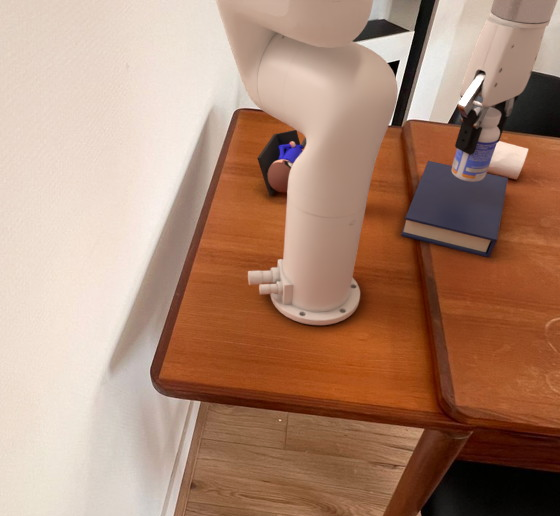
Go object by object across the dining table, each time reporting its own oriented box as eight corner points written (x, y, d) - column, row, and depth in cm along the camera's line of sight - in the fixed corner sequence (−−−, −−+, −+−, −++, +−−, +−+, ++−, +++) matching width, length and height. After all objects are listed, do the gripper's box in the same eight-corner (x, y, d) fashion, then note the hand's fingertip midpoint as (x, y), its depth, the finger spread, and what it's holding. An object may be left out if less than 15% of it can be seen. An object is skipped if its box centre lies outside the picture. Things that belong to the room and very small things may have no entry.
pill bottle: (491, 175, 84) (514, 113, 77) (472, 186, 82) (494, 123, 74) (462, 162, 87) (482, 100, 80) (443, 172, 84) (462, 110, 77)
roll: (456, 156, 104) (465, 127, 100) (518, 170, 101) (530, 142, 97) (450, 169, 100) (459, 140, 96) (515, 185, 97) (527, 156, 93)
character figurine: (313, 167, 99) (289, 208, 90) (276, 156, 100) (249, 197, 90) (320, 126, 93) (295, 166, 83) (281, 115, 94) (252, 153, 84)
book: (489, 258, 82) (497, 239, 80) (400, 235, 85) (405, 217, 83) (501, 195, 95) (508, 177, 92) (423, 178, 98) (428, 160, 95)
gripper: (535, -11, 73) (489, 122, 86) (457, 8, 65) (421, 150, 79) (584, 3, 69) (529, 140, 83) (508, 26, 62) (461, 171, 75)
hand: (476, 144), depth 81 cm, fingers closed on pill bottle, 5 cm apart
